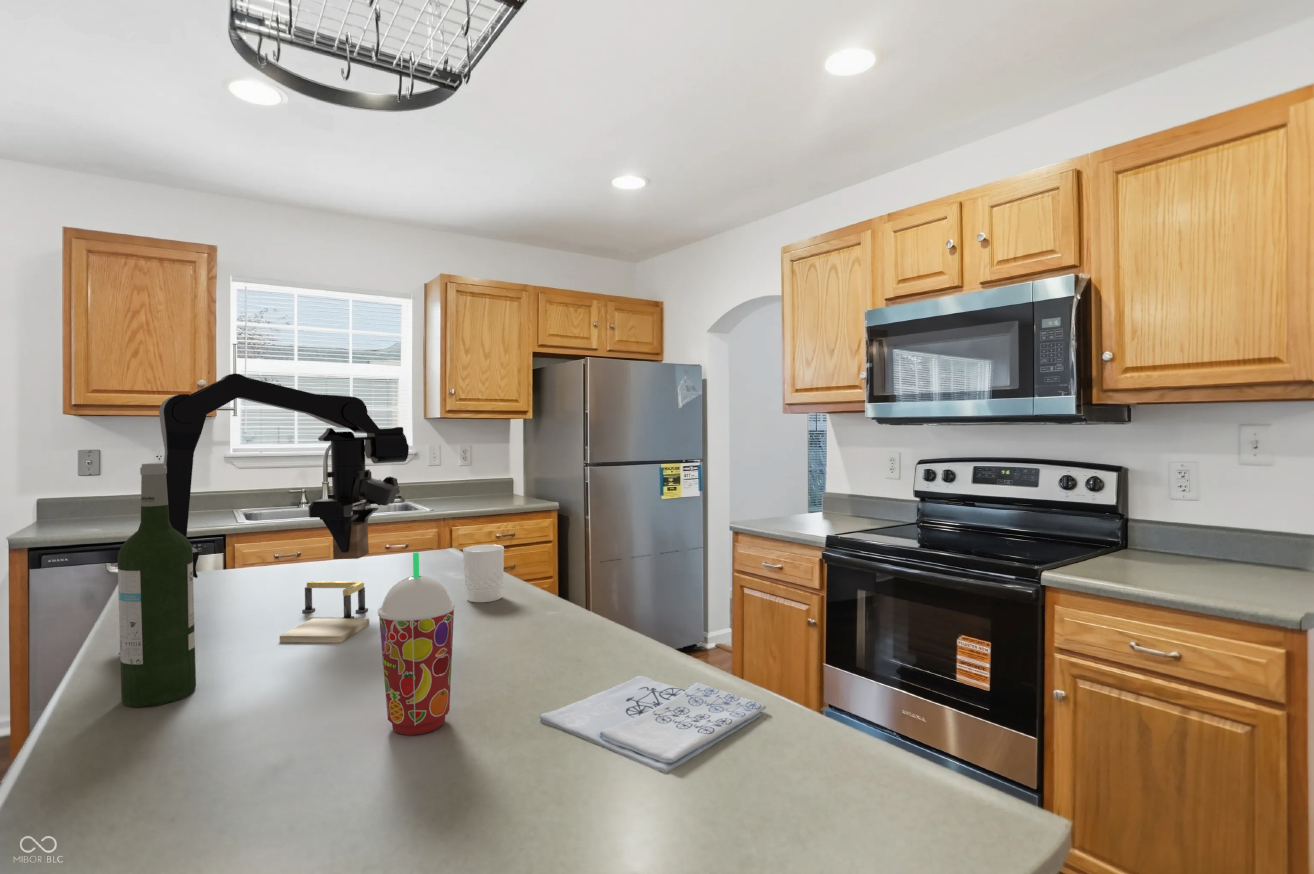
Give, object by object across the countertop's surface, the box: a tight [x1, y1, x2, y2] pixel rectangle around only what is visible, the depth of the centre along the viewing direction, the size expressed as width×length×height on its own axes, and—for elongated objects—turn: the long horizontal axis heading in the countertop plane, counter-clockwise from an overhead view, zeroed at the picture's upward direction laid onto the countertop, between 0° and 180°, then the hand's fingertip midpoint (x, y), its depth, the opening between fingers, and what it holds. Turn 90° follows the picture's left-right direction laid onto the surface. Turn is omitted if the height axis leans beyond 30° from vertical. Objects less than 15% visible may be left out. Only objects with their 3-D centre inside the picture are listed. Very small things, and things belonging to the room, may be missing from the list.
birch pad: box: [279, 617, 370, 644], centre depth 119 cm, size 10×10×1 cm
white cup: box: [462, 544, 505, 603], centre depth 141 cm, size 8×8×10 cm
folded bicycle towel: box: [539, 675, 767, 774], centre depth 85 cm, size 19×20×2 cm
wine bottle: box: [116, 462, 197, 708], centre depth 92 cm, size 8×8×30 cm
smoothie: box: [377, 551, 456, 736], centre depth 82 cm, size 8×8×20 cm
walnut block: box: [332, 521, 370, 560], centre depth 132 cm, size 4×4×6 cm
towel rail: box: [301, 580, 369, 619], centre depth 129 cm, size 7×12×6 cm, turn 88°
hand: (351, 549), depth 132 cm, fingers closed on walnut block, 4 cm apart
